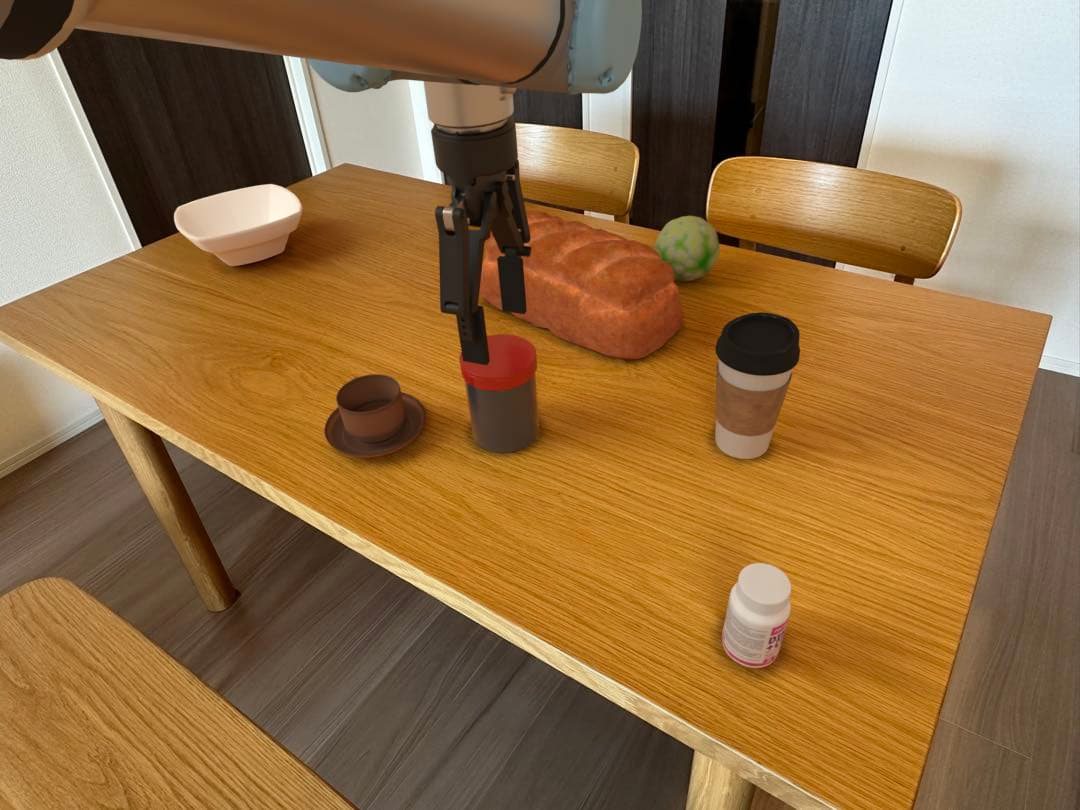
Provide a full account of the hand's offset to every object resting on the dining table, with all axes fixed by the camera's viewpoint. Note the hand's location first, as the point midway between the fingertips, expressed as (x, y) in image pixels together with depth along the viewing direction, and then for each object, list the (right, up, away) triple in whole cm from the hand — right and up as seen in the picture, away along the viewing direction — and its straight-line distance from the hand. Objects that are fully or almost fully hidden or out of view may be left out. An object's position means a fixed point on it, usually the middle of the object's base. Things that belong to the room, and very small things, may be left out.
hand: (496, 334), depth 75 cm
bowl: (-48, +20, +51) cm, 73 cm away
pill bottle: (+23, -28, -16) cm, 39 cm away
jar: (+1, -11, +8) cm, 14 cm away
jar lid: (0, -2, +2) cm, 3 cm away
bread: (+10, +6, +29) cm, 32 cm away
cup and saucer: (-15, -11, +9) cm, 21 cm away
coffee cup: (+28, -12, +5) cm, 31 cm away
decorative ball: (+28, +13, +36) cm, 47 cm away
